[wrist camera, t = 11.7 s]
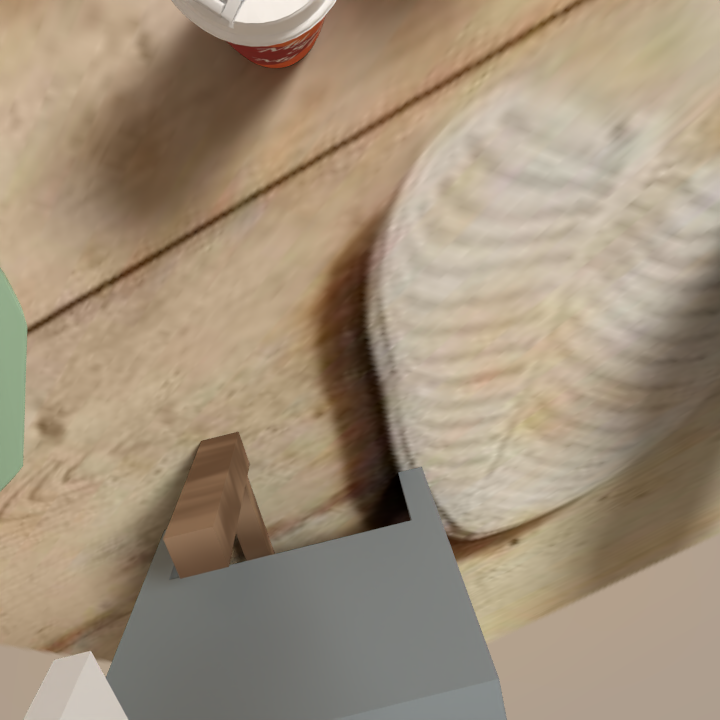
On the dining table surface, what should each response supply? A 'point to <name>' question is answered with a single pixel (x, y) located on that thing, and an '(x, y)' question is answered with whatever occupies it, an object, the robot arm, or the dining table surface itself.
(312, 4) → the coffee cup
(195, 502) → the pusher tool
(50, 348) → the dining table surface
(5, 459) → the miniature garden model
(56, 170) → the dining table surface
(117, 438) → the dining table surface
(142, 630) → the cabinet
